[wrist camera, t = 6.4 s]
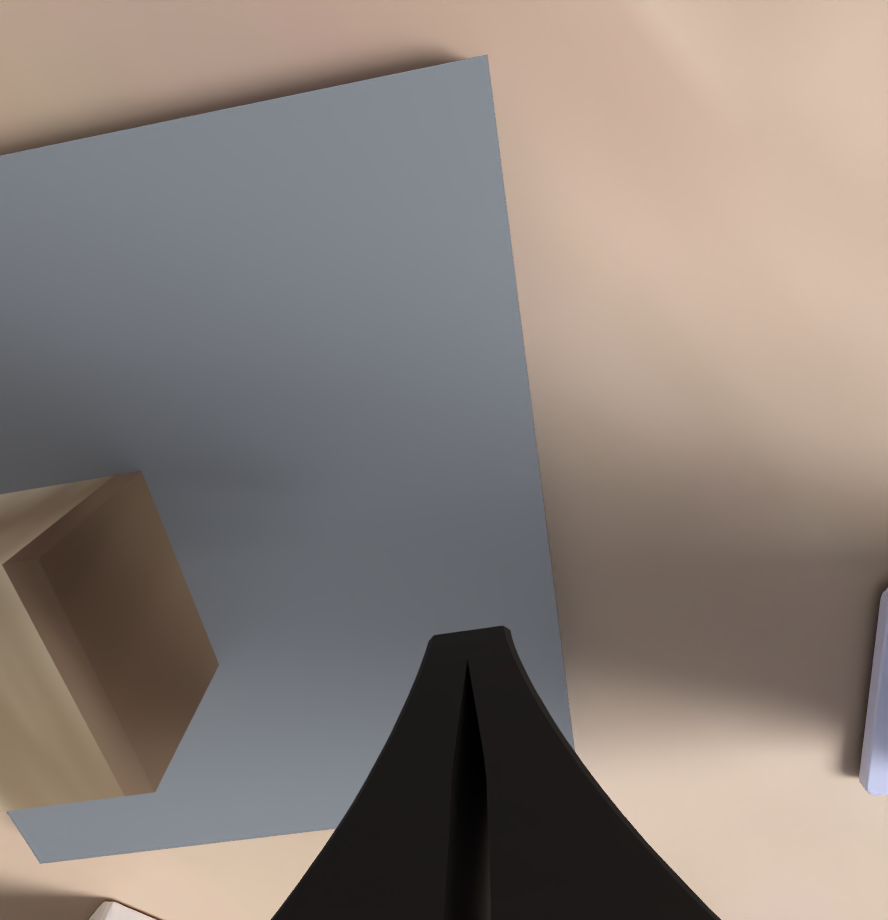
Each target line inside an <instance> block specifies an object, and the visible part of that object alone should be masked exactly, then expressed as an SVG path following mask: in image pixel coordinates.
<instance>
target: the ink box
mask: <svg viewBox="0 0 888 920" xmlns="http://www.w3.org/2000/svg"><path fill="white" fill-rule="evenodd" d="M89 920H156V919H154V918H151V917H149V916H146V915H144V914H142V913H140V912H138V911H135V910H132V909H130V908H127V907H125V906H123V905H121V904H119V903H117V902H108V901H105V902H103V903H102V904H101V905H100V906H99V907H98V909H97V910H96V911H95V912H94V914H93V915H92V916H91V917H90V918H89Z"/></svg>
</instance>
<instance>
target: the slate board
mask: <svg viewBox="0 0 888 920" xmlns="http://www.w3.org/2000/svg"><path fill="white" fill-rule="evenodd" d="M139 471H142V473H143V475H144V478H145V480H146V483H147V485H148V488H149V491H150V493H151V496H152V498H153V501H154V503H155V506H156V508H157V511H158V513H159V516H160V518H161V521H162V523H163V526H164V528H165V531H166V533H167V536H168V538H169V541H170V543H171V546H172V548H173V551H174V553H175V556H176V558H177V561H178V563H179V566H180V568H181V571H182V573H183V576H184V578H185V581H186V583H187V586H188V588H189V591H190V593H191V596H192V598H193V601H194V603H195V606H196V608H197V611H198V613H199V616H200V618H201V621H202V623H203V626H204V628H205V631H206V633H207V636H208V638H209V641H210V643H211V646H212V648H213V651H214V653H215V656H216V658H217V661H218V663H219V666H218V668H217V670H216V672H215V674H214V676H213V678H212V680H211V682H210V684H209V686H208V688H207V690H206V692H205V694H204V696H203V698H202V700H201V702H200V704H199V706H198V708H197V710H196V712H195V714H194V716H193V718H192V720H191V722H190V724H189V726H188V728H187V730H186V732H185V734H184V736H183V738H182V740H181V742H180V744H179V746H178V748H177V750H176V752H175V754H174V756H173V758H172V760H171V762H170V764H169V766H168V768H167V770H166V772H165V774H164V776H163V778H162V780H161V782H160V784H159V786H158V788H157V790H156V792H154V793H147V794H139V795H131V796H123V797H115V798H107V799H99V800H91V801H83V802H75V803H67V804H59V805H51V806H43V807H35V808H28V809H20V810H12V811H7V813H8V815H9V816H10V818H11V819H12V821H13V822H14V824H15V825H16V827H17V829H18V830H19V832H20V833H21V835H22V836H23V838H24V839H25V841H26V843H27V844H28V846H29V847H30V849H31V850H32V852H33V853H34V855H35V857H36V858H37V860H38V861H39V863H40V864H42V863H50V862H59V861H67V860H76V859H84V858H93V857H101V856H109V855H118V854H126V853H135V852H143V851H151V850H160V849H168V848H177V847H185V846H193V845H202V844H210V843H219V842H227V841H236V840H244V839H252V838H261V837H269V836H278V835H286V834H294V833H303V832H311V831H320V830H328V829H336V828H337V826H338V825H339V823H340V822H341V820H342V819H343V817H344V816H345V814H346V812H347V811H348V809H349V808H350V806H351V804H352V803H353V801H354V799H355V798H356V796H357V794H358V793H359V791H360V789H361V787H362V786H363V784H364V782H365V781H366V779H367V777H368V775H369V773H370V771H371V769H372V768H373V766H374V764H375V762H376V760H377V758H378V756H379V755H380V753H381V751H382V749H383V747H384V745H385V743H386V742H387V740H388V738H389V736H390V734H391V732H392V729H393V727H394V725H395V723H396V721H397V719H398V717H399V714H400V712H401V710H402V708H403V706H404V704H405V701H406V699H407V697H408V695H409V692H410V690H411V688H412V685H413V683H414V680H415V678H416V676H417V673H418V670H419V668H420V665H421V662H422V660H423V657H424V654H425V651H426V648H427V644H428V641H429V640H430V639H431V638H432V637H433V635H438V634H445V633H452V632H460V631H467V630H474V629H481V628H488V627H495V626H505V627H506V628H508V629H509V630H511V635H512V639H513V642H514V645H515V648H516V650H517V653H518V655H519V657H520V660H521V662H522V664H523V666H524V668H525V670H526V672H527V674H528V676H529V678H530V680H531V682H532V684H533V686H534V688H535V689H536V691H537V693H538V695H539V696H540V698H541V700H542V701H543V703H544V705H545V706H546V708H547V710H548V711H549V713H550V715H551V716H552V718H553V720H554V721H555V723H556V724H557V726H558V728H559V729H560V731H561V732H562V734H563V735H564V737H565V738H566V740H567V741H568V742H569V744H570V745H571V747H572V748H573V750H574V751H575V749H574V741H573V733H572V725H571V717H570V709H569V702H568V694H567V686H566V678H565V670H564V662H563V654H562V646H561V638H560V630H559V622H558V614H557V606H556V598H555V590H554V582H553V574H552V566H551V558H550V550H549V542H548V534H547V526H546V518H545V510H544V502H543V494H542V486H541V478H540V470H539V462H538V454H537V446H536V438H535V430H534V422H533V414H532V406H531V398H530V390H529V382H528V374H527V366H526V358H525V350H524V342H523V334H522V326H521V318H520V310H519V302H518V294H517V286H516V278H515V270H514V262H513V254H512V246H511V238H510V230H509V222H508V214H507V206H506V198H505V190H504V182H503V174H502V166H501V158H500V150H499V142H498V135H497V127H496V119H495V111H494V103H493V95H492V87H491V79H490V71H489V63H488V55H483V56H478V57H473V58H468V59H464V60H459V61H454V62H449V63H444V64H439V65H435V66H430V67H425V68H420V69H415V70H411V71H406V72H401V73H396V74H391V75H386V76H382V77H377V78H372V79H367V80H362V81H357V82H353V83H348V84H343V85H338V86H333V87H328V88H324V89H319V90H314V91H309V92H304V93H299V94H295V95H290V96H285V97H280V98H275V99H271V100H266V101H261V102H256V103H251V104H246V105H242V106H237V107H232V108H227V109H222V110H217V111H213V112H208V113H203V114H198V115H193V116H188V117H184V118H179V119H174V120H169V121H164V122H160V123H155V124H150V125H145V126H140V127H135V128H131V129H126V130H121V131H116V132H111V133H106V134H102V135H97V136H92V137H87V138H82V139H77V140H73V141H68V142H63V143H58V144H53V145H49V146H44V147H39V148H34V149H29V150H24V151H20V152H15V153H10V154H5V155H0V494H6V493H12V492H18V491H24V490H30V489H36V488H42V487H48V486H54V485H60V484H66V483H72V482H78V481H84V480H90V479H96V478H102V477H108V476H114V475H120V474H126V473H132V472H139Z"/></svg>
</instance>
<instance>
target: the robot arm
mask: <svg viewBox="0 0 888 920" xmlns="http://www.w3.org/2000/svg"><path fill="white" fill-rule="evenodd" d="M859 781H860V783H861V784H862V786H863V787H864V788H865V790H866V791H867V792H868V793H869V794H872V795H888V588H887V589H886V590H885V591H884V592H883V594H882V596H881V600H880V608H879V616H878V624H877V633H876V641H875V649H874V658H873V666H872V674H871V683H870V691H869V699H868V707H867V716H866V724H865V732H864V741H863V749H862V757H861V766H860V774H859ZM271 920H721V919H720V918H719V917H718V916H717V915H716V914H715V913H714V912H713V911H711V910H710V909H709V908H708V907H707V905H706V904H705V903H704V902H703V901H702V900H701V899H700V898H699V897H698V896H697V895H696V894H695V893H694V892H693V891H692V890H691V889H690V888H689V887H688V885H687V884H686V883H685V882H684V881H683V880H682V879H681V878H680V877H679V876H678V875H677V874H676V873H675V872H674V871H673V870H672V869H671V868H670V867H669V865H668V864H667V863H666V862H665V861H664V860H663V859H662V858H661V857H660V856H659V855H658V854H657V853H656V852H655V851H654V850H653V849H652V847H651V846H650V845H649V844H648V843H647V842H646V841H645V840H644V838H643V837H642V836H641V835H640V834H639V833H638V831H637V830H636V829H635V828H634V827H633V826H632V824H631V823H630V822H629V821H628V820H627V819H626V817H625V816H624V815H623V814H622V813H621V811H620V810H619V809H618V808H617V807H616V805H615V804H614V803H613V802H612V800H611V799H610V798H609V797H608V795H607V794H606V793H605V792H604V790H603V789H602V788H601V787H600V785H599V784H598V783H597V781H596V780H595V779H594V777H593V776H592V775H591V773H590V772H589V771H588V769H587V768H586V767H585V765H584V764H583V763H582V761H581V760H580V758H579V757H578V755H577V754H576V753H575V751H574V750H573V748H572V747H571V745H570V744H569V742H568V741H567V740H566V738H565V737H564V735H563V734H562V732H561V731H560V729H559V728H558V726H557V724H556V723H555V721H554V720H553V718H552V716H551V715H550V713H549V711H548V710H547V708H546V706H545V705H544V703H543V701H542V700H541V698H540V696H539V695H538V693H537V691H536V689H535V688H534V686H533V684H532V682H531V680H530V678H529V676H528V674H527V672H526V670H525V668H524V666H523V664H522V662H521V660H520V657H519V655H518V653H517V650H516V648H515V645H514V642H513V639H512V635H511V630H509V629H508V628H506V627H505V626H495V627H488V628H481V629H474V630H467V631H460V632H452V633H445V634H438V635H433V637H432V638H431V639H430V640H429V641H428V644H427V648H426V651H425V654H424V657H423V660H422V662H421V665H420V668H419V670H418V673H417V676H416V678H415V680H414V683H413V685H412V688H411V690H410V692H409V695H408V697H407V699H406V701H405V704H404V706H403V708H402V710H401V712H400V714H399V717H398V719H397V721H396V723H395V725H394V727H393V729H392V732H391V734H390V736H389V738H388V740H387V742H386V743H385V745H384V747H383V749H382V751H381V753H380V755H379V756H378V758H377V760H376V762H375V764H374V766H373V768H372V769H371V771H370V773H369V775H368V777H367V779H366V781H365V782H364V784H363V786H362V787H361V789H360V791H359V793H358V794H357V796H356V798H355V799H354V801H353V803H352V804H351V806H350V808H349V809H348V811H347V812H346V814H345V816H344V817H343V819H342V820H341V822H340V823H339V825H338V826H337V828H336V830H335V831H334V833H333V834H332V836H331V837H330V839H329V840H328V842H327V843H326V845H325V846H324V848H323V849H322V851H321V852H320V853H319V855H318V856H317V858H316V859H315V860H314V862H313V863H312V865H311V866H310V867H309V869H308V870H307V872H306V873H305V875H304V876H303V877H302V879H301V880H300V882H299V883H298V884H297V886H296V887H295V889H294V890H293V891H292V893H291V894H290V895H289V897H288V898H287V899H286V901H285V902H284V903H283V905H282V906H281V907H280V908H279V910H278V911H277V912H276V914H275V915H274V916H273V917H272V919H271Z"/></svg>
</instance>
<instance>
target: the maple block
mask: <svg viewBox="0 0 888 920" xmlns="http://www.w3.org/2000/svg"><path fill="white" fill-rule="evenodd" d="M218 666H219V663H218V661H217V658H216V656H215V653H214V651H213V648H212V646H211V643H210V641H209V638H208V636H207V633H206V631H205V628H204V626H203V623H202V621H201V618H200V616H199V613H198V611H197V608H196V606H195V603H194V601H193V598H192V596H191V593H190V591H189V588H188V586H187V583H186V581H185V578H184V576H183V573H182V571H181V568H180V566H179V563H178V561H177V558H176V556H175V553H174V551H173V548H172V546H171V543H170V541H169V538H168V536H167V533H166V531H165V528H164V526H163V523H162V521H161V518H160V516H159V513H158V511H157V508H156V506H155V503H154V501H153V498H152V496H151V493H150V491H149V488H148V485H147V483H146V480H145V478H144V475H143V473H142V471H139V472H132V473H126V474H120V475H114V476H108V477H102V478H96V479H90V480H84V481H78V482H72V483H66V484H60V485H54V486H48V487H42V488H36V489H30V490H24V491H18V492H12V493H6V494H0V812H4V811H12V810H20V809H28V808H35V807H43V806H51V805H59V804H67V803H75V802H83V801H91V800H99V799H107V798H115V797H123V796H131V795H139V794H147V793H154V792H156V790H157V788H158V786H159V784H160V782H161V780H162V778H163V776H164V774H165V772H166V770H167V768H168V766H169V764H170V762H171V760H172V758H173V756H174V754H175V752H176V750H177V748H178V746H179V744H180V742H181V740H182V738H183V736H184V734H185V732H186V730H187V728H188V726H189V724H190V722H191V720H192V718H193V716H194V714H195V712H196V710H197V708H198V706H199V704H200V702H201V700H202V698H203V696H204V694H205V692H206V690H207V688H208V686H209V684H210V682H211V680H212V678H213V676H214V674H215V672H216V670H217V668H218Z"/></svg>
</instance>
